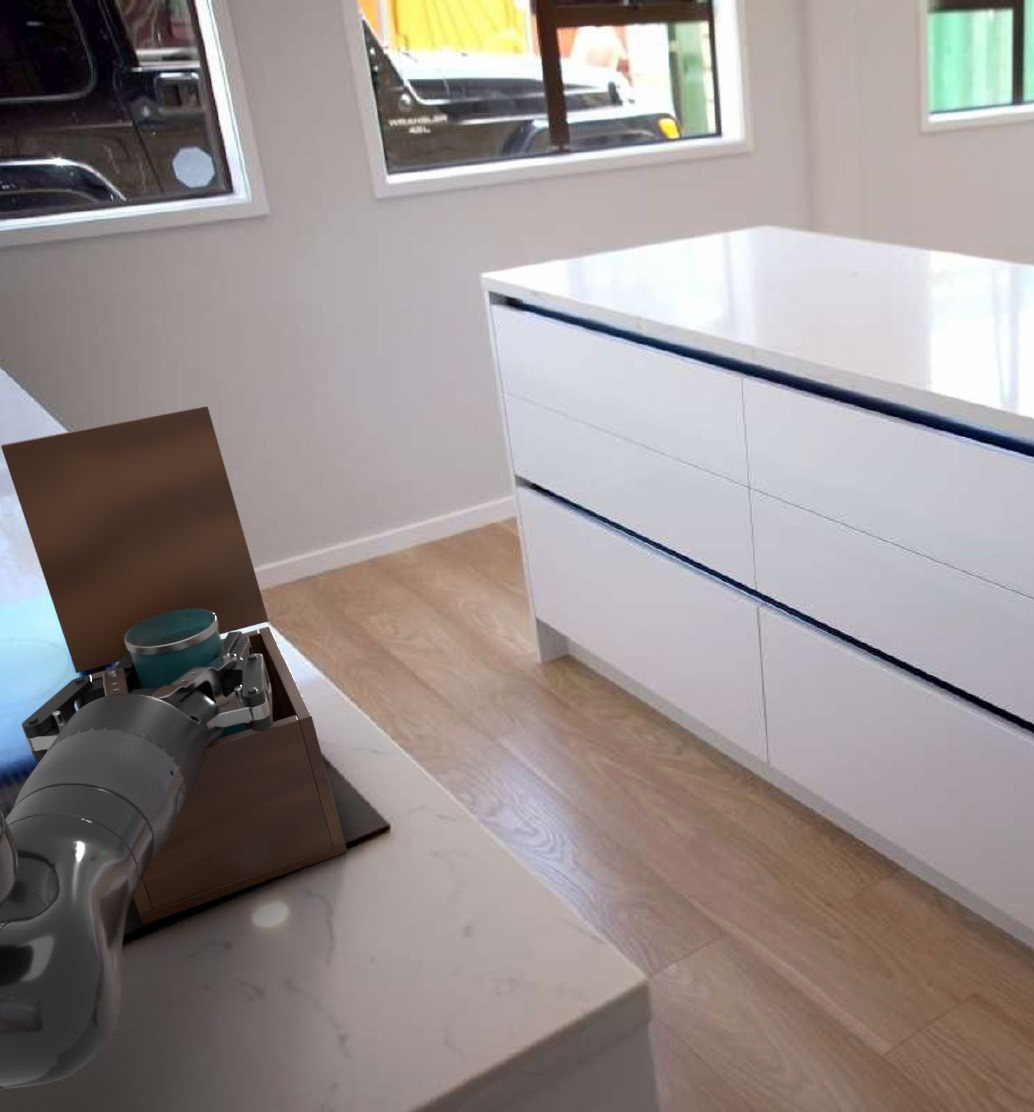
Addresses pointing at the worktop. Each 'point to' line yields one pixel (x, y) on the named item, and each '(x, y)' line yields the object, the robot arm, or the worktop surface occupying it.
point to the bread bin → (248, 806)
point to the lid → (134, 529)
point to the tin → (175, 648)
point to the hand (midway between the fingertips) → (193, 650)
